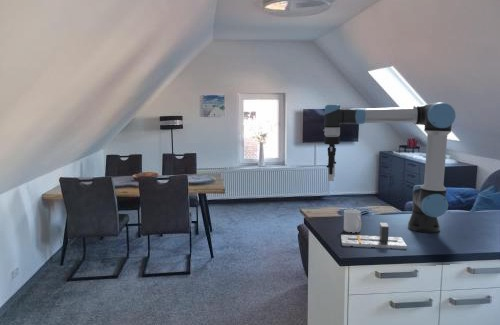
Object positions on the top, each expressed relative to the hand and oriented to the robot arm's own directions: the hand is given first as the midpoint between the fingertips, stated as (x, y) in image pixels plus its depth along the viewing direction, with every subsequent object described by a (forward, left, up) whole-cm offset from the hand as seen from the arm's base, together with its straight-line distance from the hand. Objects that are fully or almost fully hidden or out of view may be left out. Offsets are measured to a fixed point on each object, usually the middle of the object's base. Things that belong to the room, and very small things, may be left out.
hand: (331, 178), depth 208 cm
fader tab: (-24, +15, -25) cm, 38 cm away
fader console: (-19, +15, -27) cm, 37 cm away
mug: (-12, -3, -28) cm, 30 cm away
